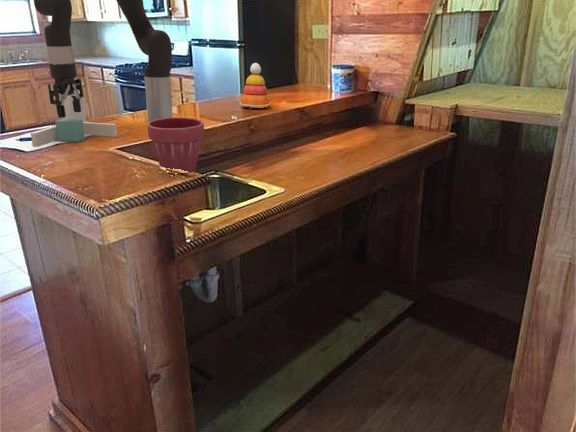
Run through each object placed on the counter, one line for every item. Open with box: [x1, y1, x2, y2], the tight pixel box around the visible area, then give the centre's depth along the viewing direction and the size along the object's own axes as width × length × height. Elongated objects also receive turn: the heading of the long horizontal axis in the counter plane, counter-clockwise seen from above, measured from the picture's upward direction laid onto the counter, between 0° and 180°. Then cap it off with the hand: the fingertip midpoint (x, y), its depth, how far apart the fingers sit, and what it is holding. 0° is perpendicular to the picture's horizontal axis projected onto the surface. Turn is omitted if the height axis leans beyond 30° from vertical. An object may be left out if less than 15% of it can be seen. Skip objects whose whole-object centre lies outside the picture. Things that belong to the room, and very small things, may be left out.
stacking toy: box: [239, 62, 272, 107], centre depth 224 cm, size 14×14×20 cm
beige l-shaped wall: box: [30, 121, 118, 147], centre depth 160 cm, size 20×17×4 cm
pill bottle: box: [59, 90, 87, 122], centre depth 178 cm, size 8×8×15 cm
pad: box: [53, 136, 90, 144], centre depth 162 cm, size 6×8×1 cm
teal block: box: [54, 118, 86, 141], centre depth 161 cm, size 7×4×6 cm, turn 79°
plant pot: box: [147, 116, 205, 173], centre depth 132 cm, size 14×14×13 cm
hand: (70, 114), depth 159 cm, fingers open, 8 cm apart
